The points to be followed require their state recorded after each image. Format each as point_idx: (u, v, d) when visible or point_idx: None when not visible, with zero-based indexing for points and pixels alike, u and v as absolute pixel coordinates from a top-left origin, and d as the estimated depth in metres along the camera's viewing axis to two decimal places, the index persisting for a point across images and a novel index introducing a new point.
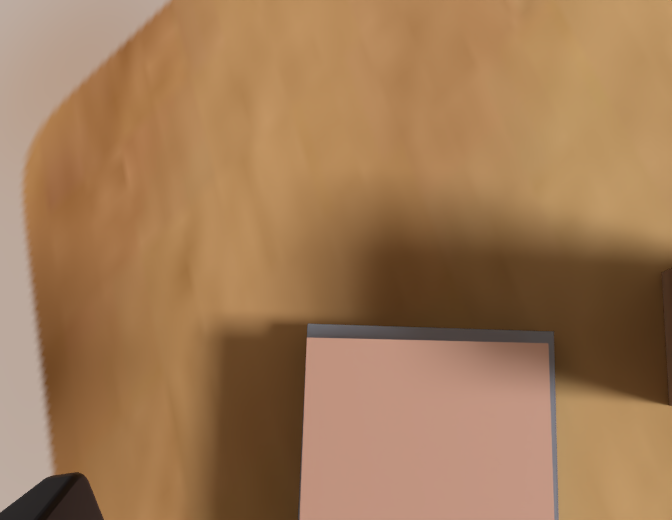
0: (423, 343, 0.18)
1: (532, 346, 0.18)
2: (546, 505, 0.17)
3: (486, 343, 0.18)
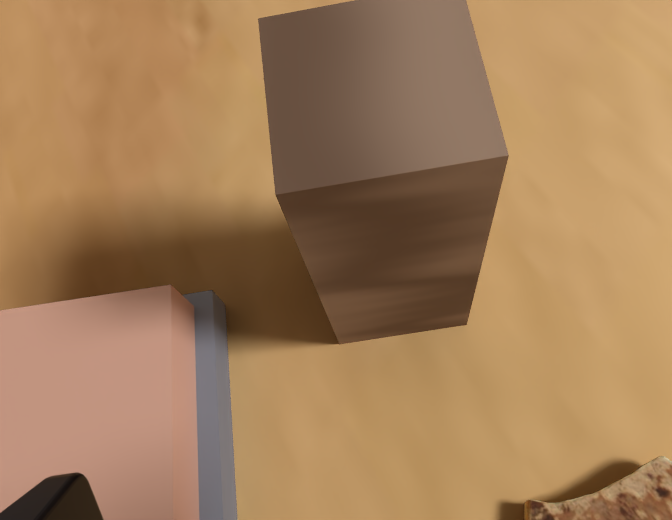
0: (62, 304, 0.20)
1: (157, 289, 0.20)
2: (165, 429, 0.18)
3: (117, 294, 0.20)
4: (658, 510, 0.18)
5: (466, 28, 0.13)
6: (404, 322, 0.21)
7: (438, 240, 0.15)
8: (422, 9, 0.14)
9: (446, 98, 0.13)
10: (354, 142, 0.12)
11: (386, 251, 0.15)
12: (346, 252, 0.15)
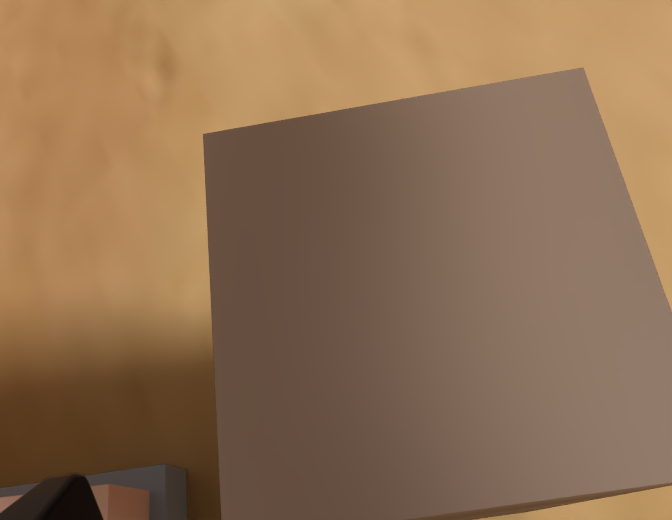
0: None
1: None
2: None
3: None
4: None
5: (605, 167, 0.07)
6: None
7: (526, 507, 0.09)
8: (513, 124, 0.07)
9: (577, 321, 0.06)
10: (389, 420, 0.06)
11: None
12: None
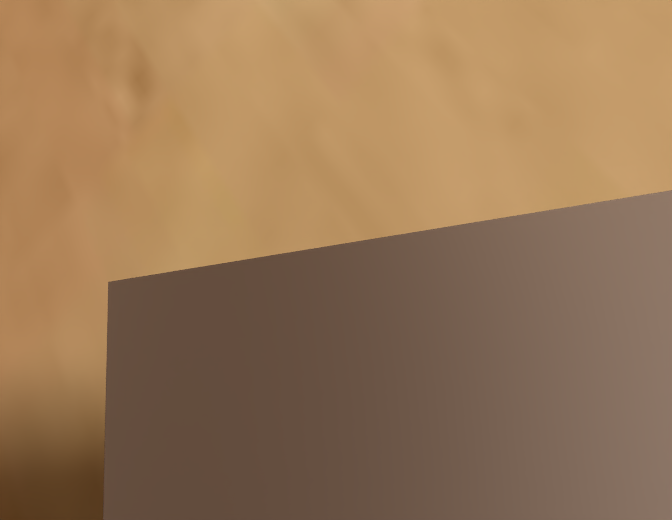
0: None
1: None
2: None
3: None
4: None
5: None
6: None
7: None
8: None
9: None
10: None
11: None
12: None
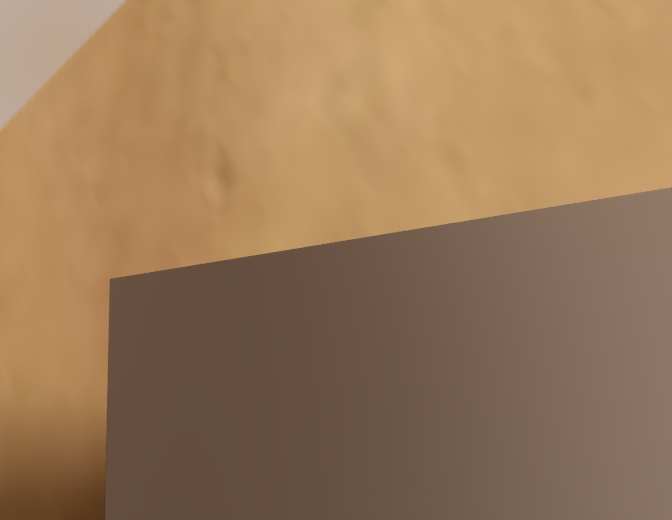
0: None
1: None
2: None
3: None
4: None
5: None
6: None
7: None
8: None
9: None
10: None
11: None
12: None
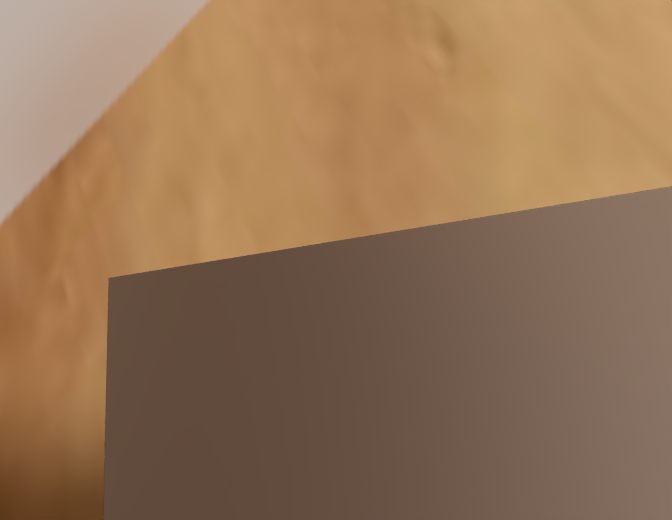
0: None
1: None
2: None
3: None
4: None
5: None
6: None
7: None
8: None
9: None
10: None
11: None
12: None
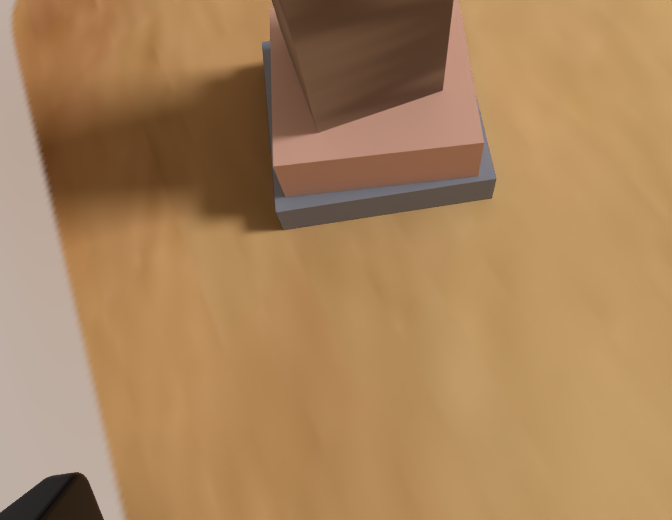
0: None
1: None
2: (467, 79, 0.22)
3: None
4: None
5: None
6: (381, 90, 0.20)
7: None
8: None
9: None
10: None
11: None
12: None
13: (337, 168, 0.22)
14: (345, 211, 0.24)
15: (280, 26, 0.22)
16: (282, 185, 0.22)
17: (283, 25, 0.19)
